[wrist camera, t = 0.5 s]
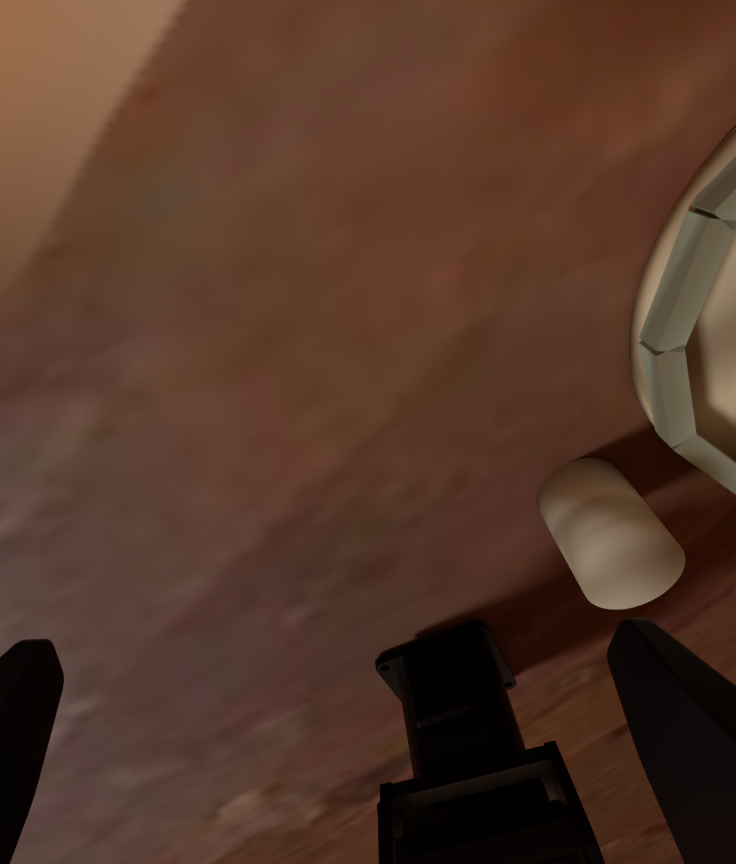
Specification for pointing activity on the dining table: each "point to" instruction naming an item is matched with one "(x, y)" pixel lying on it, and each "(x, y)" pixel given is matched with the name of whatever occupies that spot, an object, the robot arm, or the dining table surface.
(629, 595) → the maple bead
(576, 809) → the robot arm
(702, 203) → the ring dish
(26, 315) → the dining table surface
